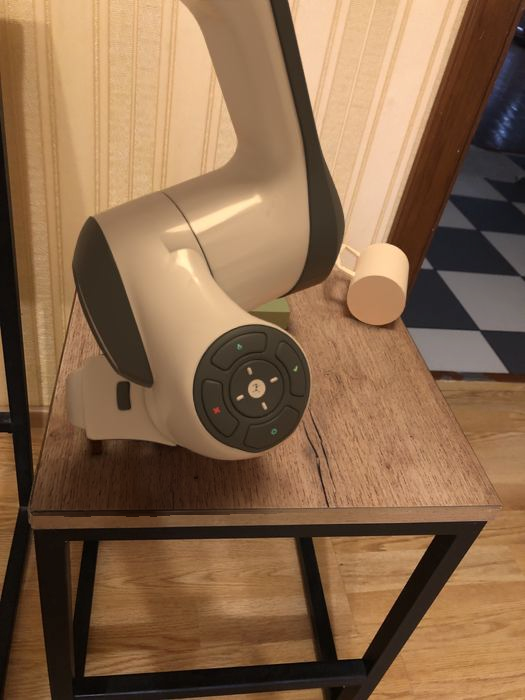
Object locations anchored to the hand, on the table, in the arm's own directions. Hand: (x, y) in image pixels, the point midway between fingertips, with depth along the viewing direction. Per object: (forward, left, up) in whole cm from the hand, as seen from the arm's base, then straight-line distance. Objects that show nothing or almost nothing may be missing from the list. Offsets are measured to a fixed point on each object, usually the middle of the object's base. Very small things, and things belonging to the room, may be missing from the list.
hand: (170, 393), depth 59 cm
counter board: (+9, +23, -5) cm, 26 cm away
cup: (+28, +20, -1) cm, 35 cm away
